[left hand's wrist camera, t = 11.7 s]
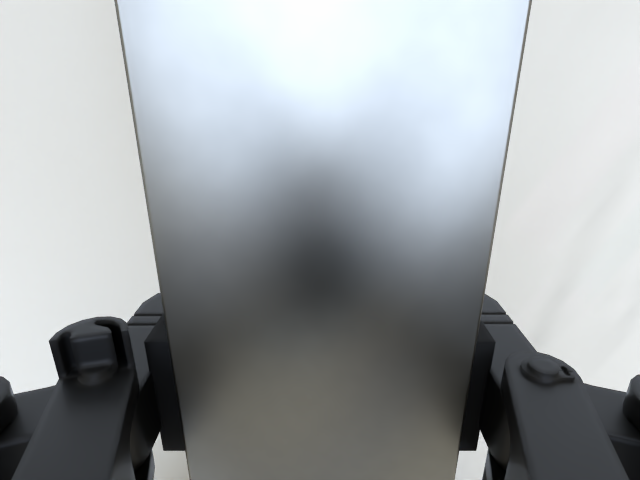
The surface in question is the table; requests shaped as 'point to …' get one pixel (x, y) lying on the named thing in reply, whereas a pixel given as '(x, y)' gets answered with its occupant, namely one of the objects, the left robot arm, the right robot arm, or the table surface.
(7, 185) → the table surface
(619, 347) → the table surface
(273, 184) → the bar
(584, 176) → the table surface
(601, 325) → the table surface
